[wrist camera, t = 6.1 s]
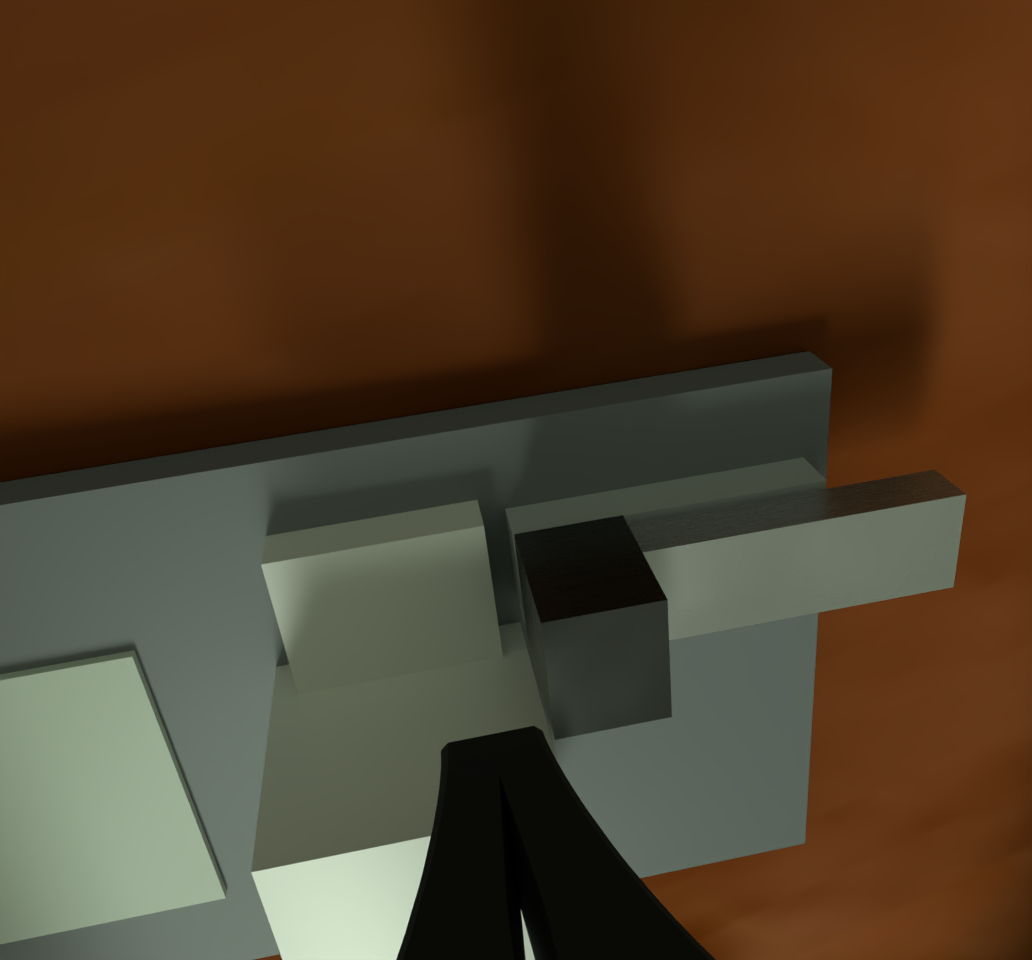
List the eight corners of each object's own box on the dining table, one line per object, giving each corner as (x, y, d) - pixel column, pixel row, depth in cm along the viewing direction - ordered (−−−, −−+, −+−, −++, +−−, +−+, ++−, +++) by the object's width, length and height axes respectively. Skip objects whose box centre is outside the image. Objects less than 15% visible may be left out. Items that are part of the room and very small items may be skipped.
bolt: (922, 567, 18) (1008, 650, 16) (527, 640, 17) (554, 740, 15) (936, 460, 17) (1030, 533, 15) (513, 534, 16) (540, 623, 14)
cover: (542, 795, 21) (591, 1000, 17) (326, 839, 21) (319, 1061, 16) (503, 495, 17) (553, 658, 13) (238, 540, 17) (198, 725, 13)
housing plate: (788, 812, 24) (822, 875, 23) (-30, 982, 22) (-63, 1065, 21) (809, 351, 18) (857, 387, 16) (-312, 533, 16) (-393, 595, 15)
